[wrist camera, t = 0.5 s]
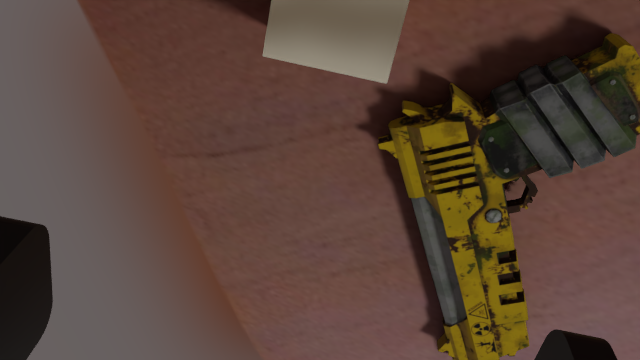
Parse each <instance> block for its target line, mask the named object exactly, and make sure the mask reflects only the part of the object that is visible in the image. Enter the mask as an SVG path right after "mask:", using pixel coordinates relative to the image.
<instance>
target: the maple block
mask: <svg viewBox="0 0 640 360" xmlns="http://www.w3.org/2000/svg"><path fill="white" fill-rule="evenodd" d="M408 3H409V0H271V6H270V12H269V19H268V25H267V31H266V37H265V44H264V50H263V56H264V57H268V58H273V59H277V60H282V61H286V62H291V63H295V64H300V65H304V66H309V67H313V68H318V69H323V70H327V71H332V72H336V73H341V74H345V75H350V76H354V77H359V78H363V79H368V80H372V81H377V82H381V83H386V84H387V81H388V77H389V74H390V70H391V66H392V63H393V59H394V55H395V51H396V48H397V44H398V40H399V37H400V33H401V29H402V26H403V22H404V18H405V14H406V11H407V7H408Z"/></svg>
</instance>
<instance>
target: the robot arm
mask: <svg viewBox="0 0 640 360" xmlns="http://www.w3.org/2000/svg"><path fill="white" fill-rule="evenodd" d="M51 309H52V279H51V261H50V243H49V234H48V230H47V228H46V227H45V226H44V225H40V224H36V223H31V222H26V221H21V220H15V219H11V218H6V217H1V216H0V360H26V359H27V358H28V356H29V355H30V353H31V352H32V350H33V349H34V348H35V345H37V343H38V342H39V340H40V338H41V337H42V335H43V333H44V331H45V329H46V327H47V324H48V321H49V318H50V314H51ZM535 360H617V358H616V356H615V354H614V352H613V349H612V347H611V346H610V344H609V343H608V342H607V341H606V340H604V339H602V338H597V337H592V336H587V335H582V334H577V333H572V332H567V331H562V330H553V331H551V332H550V333H549V334H548V335H547V337H546V339H545V340H544V342H543V344H542V346H541V348H540V350H539V352H538V354H537V356H536V358H535Z"/></svg>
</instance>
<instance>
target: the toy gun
mask: <svg viewBox="0 0 640 360" xmlns="http://www.w3.org/2000/svg"><path fill="white" fill-rule="evenodd" d="M449 96H450V99H449V100H448V101H447V102H446V103H444V104H441V105H437V106H433V107H429V108H426V107H424V106H421V105H419V104H417V103H414V102H410V101H404V100H403V102H402V112H403V113H405V114H406V115H407V116H405V117H401V118H398V119H395V120H393V121H390V122H389V124H388V128H389V131H390V135H387V136H382V137H378V140H379V143H378V146H379V149H383V150H388V151H389V152H390V153H391V154H392V155H393V156H394V157H395V158H397V159H398V162H399V166H400V169H401V173H402V177H403V180H404V184H405V187H406V191H407V195H408V197H409V198H411V200H412V204H413V208H414V212H415V215H416V219H417V223H418V227H419V230H420V234H421V238H422V242H423V246H424V249H425V253H426V257H427V261H428V264H429V268H430V271H431V274H432V278H433V281H434V285H435V288H436V292H437V295H438V299H439V302H440V306H441V309H442V313H443V316H444V317H443V320H442V322H443V326H444V329H445V333H444V334H443V335H442V336H441V337H440V338H439V339H438V340H437V345H438V351H440V352H445V351H448V355H449V356H451V357H452V358H453V360H500V359H499V357H502V356H504V355H509V356H515V354H516V352H517V351H518V350H520V349H523V348H526V347H528V346H529V339H528V332H527V327H526V321H525V320H528V312H527V305H526V300H525V294H524V290H523V288H522V279H521V273H520V270H519V267H518V258H517V252H516V249H515V248H514V238H513V233H512V227H511V222H510V217H509V213H514V212H519V211H520V208H521V207H522V208H525V209H527V208H528V206H527V203H528V202H529V203H532V201H533V200H532V197H531V196H533V197H535V195H536V193H537V192H538V190H537V188H536V186H535V184H534V183H533V182H532V181H531V180H530V179H529V177H528V176H527V175H528V174H530V173H533V172H536V171H538V170H541V169H543V170H544V171H545V173H546V174H547V175H548V176H549V178H552V177H555V176H559V175H563V174H566V173H570V172H572V170H573V161H574V160H575V162H576V163H577V164H578V165H579V166H580V167H581V169H582V168H585V167H588V166H590V165H593V164H596V163H599V162H602V161H604V160H605V153H606V150H607V151H608V152H609V153H610V154H611V155H612V156H613V157H616V156H618V155H620V154H622V153H625V152H627V151H629V150H631V149H634V148H635V145H636V137H637V135H639V134H640V58H639V56H638V54H637V52H636V51H635V49H634V47H633V46H632V45H631V44H629V43H628V42H627V41H626V40H624V39H623V38H622V37H621V36H619V35H617V34H613V33H610V34H608V35H607V36H605V38H604V41H603V45H602V46H601V47H599V48H597V49H595V50H593V51H591V52H588V53H586V54H584V55H582V56H580V57H578V58H576V59H574V60H572V61H571V60H570V59H569V58H568V57H567V56H566V55H564V56H562V57H560V58H558V59H556V60H554V61H551V62H549V63H547V65H546V66H545V67H544V69H543V68H541V67H540V66H538V65H534V66H532V67H530V68H528V69H526V70H524V71H522V72H520V73H519V76H518V81H515V80H512V81H510V82H508V83H506V84H503V85H501V86H499V87H497V88H495V89H493V90H492V91H491V94H490V98H489V99H487V100H485V101H484V102H482V103H478V102H477V101H476V100H474V99H473V98H472V97H470V96H469V95H468V94H466V93H465V92H463V91H462V90H461V89H459V88H458V87H457V86H455V85H454V84H453V83H451V84H449ZM520 177H522V179H523V181H524V182H525V184H526V187H525V190H524V192H523V194H522V197H521V198H519V199H516V200H508V201H506V196H505V191H504V185H503V183H506V182H509V181H512V180H514V181H517V180H518V179H519V178H520Z"/></svg>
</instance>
